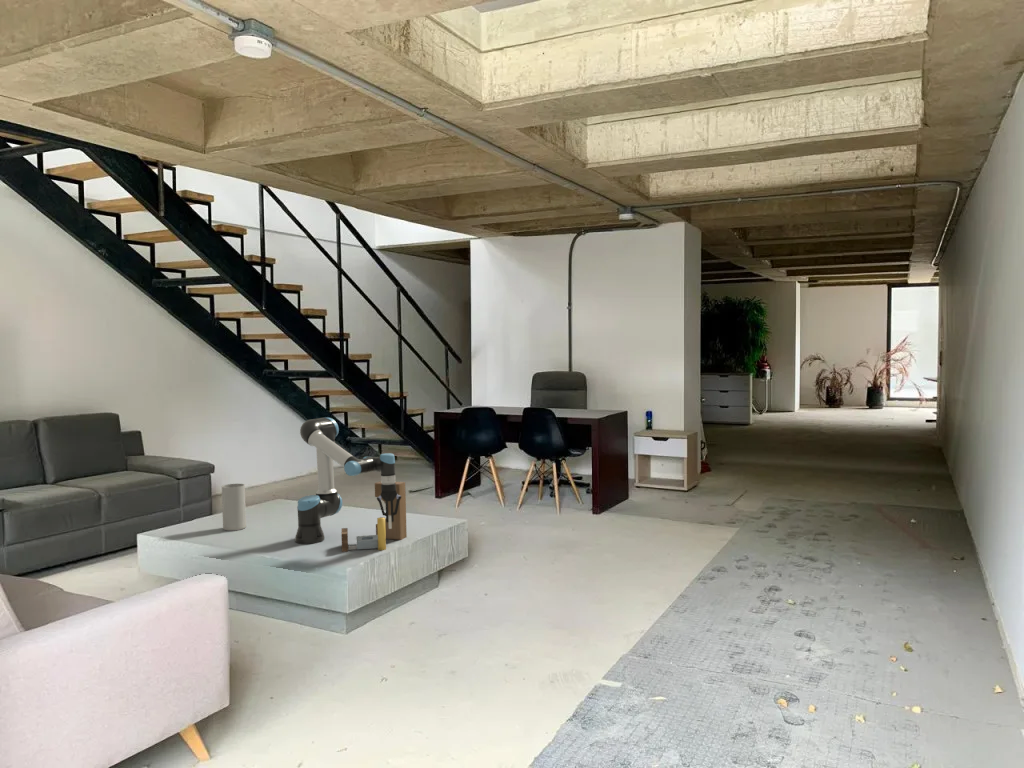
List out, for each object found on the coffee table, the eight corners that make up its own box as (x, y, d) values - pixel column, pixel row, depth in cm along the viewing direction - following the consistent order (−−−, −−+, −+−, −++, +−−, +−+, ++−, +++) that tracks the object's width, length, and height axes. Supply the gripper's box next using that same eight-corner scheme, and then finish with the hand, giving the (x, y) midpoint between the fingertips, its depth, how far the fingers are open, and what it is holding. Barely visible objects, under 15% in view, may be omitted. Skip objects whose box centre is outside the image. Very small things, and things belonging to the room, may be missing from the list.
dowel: (377, 548, 391) (377, 517, 390) (385, 547, 392) (385, 517, 391) (378, 550, 387) (377, 519, 386) (386, 549, 388) (385, 518, 387)
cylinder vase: (250, 527, 443) (249, 484, 441) (232, 532, 432) (230, 488, 431) (237, 525, 450) (235, 482, 448) (218, 529, 439) (216, 486, 438)
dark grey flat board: (348, 546, 397) (348, 545, 397) (384, 543, 401) (384, 543, 401) (348, 550, 389) (348, 549, 389) (385, 547, 393) (385, 547, 393)
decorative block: (407, 536, 414) (405, 481, 413) (400, 540, 407) (399, 484, 406) (382, 534, 419) (381, 480, 418) (375, 538, 412) (374, 483, 411)
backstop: (342, 545, 398) (341, 528, 398) (348, 545, 399) (347, 527, 399) (341, 551, 386) (341, 534, 385) (348, 551, 386) (347, 533, 386)
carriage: (356, 544, 399) (356, 536, 399) (378, 542, 401) (377, 534, 401) (357, 549, 388) (356, 541, 388) (378, 547, 391) (378, 540, 390)
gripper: (376, 485, 393) (377, 530, 394) (401, 483, 395) (403, 528, 396) (375, 483, 400) (377, 527, 401) (400, 481, 403) (402, 525, 404)
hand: (390, 528), depth 399 cm, fingers closed
